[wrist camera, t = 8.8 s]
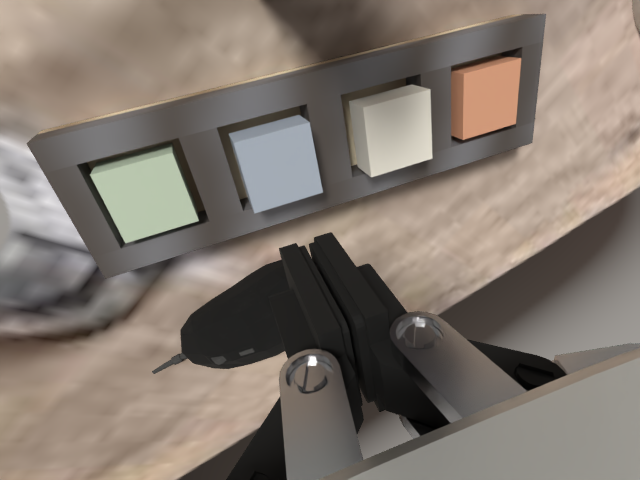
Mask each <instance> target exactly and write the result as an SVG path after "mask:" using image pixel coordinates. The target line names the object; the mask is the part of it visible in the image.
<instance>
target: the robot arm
mask: <svg viewBox="0 0 640 480" xmlns="http://www.w3.org/2000/svg"><path fill="white" fill-rule="evenodd" d="M632 10H633V16H634V20H635V24H636V27H637V29H638V31H639V33H640V0H632ZM309 248H310V252H311V257H312V258H311V257H310V255H309V253H308V251H307V249H306V247H305V246H301V247H298V245H297V243H295V244H292V245H288V246H285V247H282V248H279V251H280V255H281V258H282V262H283V266H284V270H285V273H286V277H287V281H288V284H289V288H290V290H287V291H284V292H281V293H277V294H274V295H271V296H268V297H269V300H270V304H271V307H272V310H273V313H274V316H275V320H276V323H277V326H278V329H279V332H280V336H281V339H282V342H283V345H284V348H285V351H286V354H287V358H288V360H287V361H286V362H285V364H284V365H283V367H282V369H281V371H280V376H279V386H280V397H279V399H278V401H277V402H276V404H275V405H274V407H273V408H272V410H271V411H270V413H269V414H268V416H267V418H266V419H265V421H264V422H263V424H262V425H261V427H260V428H259V430H258V431H257V433H256V435H255V436H254V438H253V439H252V441H251V442H250V444H249V446H248V447H247V449H246V450H245V452H244V453H243V455H242V456H241V458H240V460H239V461H238V463H237V464H236V465H235V467H234V469H233V470H232V472H231V473H230V475H229V476H228V478H227V479H226V480H640V343H639V344H638V343H637V344H636V343H635V344H623V345H617V346H611V347H605V348H599V349H592V350H586V351H580V352H574V353H568V354H561V355H556V356H555V358H554V360H553V361H550V360H548V359H546V358H543V357H540V356H537V355H533V354H529V353H524V352H520V351H515V350H511V349H506V348H502V347H497V346H493V345H489V344H484V343H480V342H476V341H471V340H467V339H465V338H464V337H463V336H462V335H460V334H459V333H458V332H457V331H456V330H455V329H453V328H452V327H451V326H450V325H449V324H447V323H446V322H445V321H444V320H443V319H441V318H439V317H438V316H437V315H434V314H431V313H428V312H420V311H417V312H409V313H407V311H406V310H405V309H404V307H403V306H402V305H401V304H400V302H399V301H398V300H397V298H396V297H395V296H394V295H393V293H392V292H391V291H390V289H389V288H388V287H387V286H386V284H385V283H384V282H383V280H382V279H381V278H380V276H379V275H378V274H377V273H376V271H375V270H374V269H373V267H372V266H371V265H370V264H365V265H362V266H359V267H356V266H355V265H354V263H353V262H352V260H351V259H350V257H349V256H348V255H347V253H346V252H345V250H344V249H343V248H342V246H341V245H340V243H339V242H338V241H337V239H336V238H335V236H334V235H333V234H332V233H331V232H330V233H327V234H324V235H320V236H317V237H314V243H310V244H309ZM360 389H361V391H362V393H363V395H364V397H365V399H366V401H367V402H368V403H369V402H372V401H374V402H375V404H376V406H377V408H378V410H379V412H381V411H383V410H386V411H389V412H392V413H395V414H398V415H399V419H400V421H401V422H402V424H403V426H404V427H405V429H406V430H407V431H408V432H409V434H410V435H411V436H412V438H413V440H410V441H408V442H406V443H403V444H401V445H398V446H396V447H393V448H391V449H389V450H386V451H384V452H382V453H379V454H377V455H375V456H372V457H370V458H367V459H365V460H363V457H362V453H361V449H360V445H359V441H358V437H357V434H358V431H359V429H360V427H361V425H362V422H363V420H364V419H363V413H362V408H361V406H362V398H361V393H360Z"/></svg>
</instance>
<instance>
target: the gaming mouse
mask: <svg viewBox="0 0 640 480" xmlns="http://www.w3.org/2000/svg"><path fill="white" fill-rule="evenodd" d="M287 290H290V288H289V284H288V281H287V277H286V273H285V270H284V266H283V262H282V260H280V261H276V262H273V263H270V264H267V265H265V266H263V267H261V268H260V269H258V270H256V271H255V272H253V273H251V274H250V275H248V276H247V277H245V278H244V279H242V280H241V281H240V282H238V283H237V284H235V285H234V286H232V287H231V288H229V289H228V290H226V291H225V292H223V293H221V294H220V295H218V296H217V297H215V298H214V299H212V300H211V301H209V302H208V303H206V304H205V305H204V306H202V307H201V308H199V309H198V310H197V311H195V312H194V313H192V314H191V315H190V317H189V318H188V320H187V321H186V323H185V324H184V326H183V327H182V329H181V347H182V353H181V354H178V355H176V356H174V357H172V358H171V360H170V361H168V362H166V363H164V364H163V365H161V366H160V367H158V368H157V369H155V370H154V371H152V372H153V373H154V374H155V373H157V372H159V371H161V370H163V369H165V368H167V367H168V366H170V365H172V364H175V365H176V364H178V363H180V362H182V361H183V360H184V359H187V358H188V359H189V360H190V361H191V362H192V363H194V364H198V365H202V366H207V367H211V368H220V369H230V368H234V367H239V366H244V365H248V364H252V363H255V362H258V361H261V360H264V359H267V358H270V357H273V356H276V355H278V354H280V353H282V352H284V351H285V348H284V345H283V342H282V339H281V336H280V332H279V329H278V326H277V323H276V320H275V316H274V313H273V310H272V307H271V304H270V300H269V297H268V296H271V295H274V294H277V293H281V292H284V291H287Z"/></svg>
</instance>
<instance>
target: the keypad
mask: <svg viewBox="0 0 640 480" xmlns="http://www.w3.org/2000/svg"><path fill="white" fill-rule="evenodd" d="M545 19H546V14H520V15H511V16H507V17H503V18H499V19H495V20H491V21H487V22H482V23H478V24H474V25H470V26H466V27H462V28H458V29H454V30H450V31H446V32H442V33H438V34H434V35H429V36H425V37H421V38H417V39H413V40H409V41H405V42H401V43H397V44H393V45H389V46H385V47H381V48H376V49H372V50H368V51H364V52H360V53H356V54H352V55H348V56H344V57H340V58H336V59H332V60H328V61H323V62H319V63H315V64H311V65H307V66H303V67H299V68H295V69H291V70H287V71H283V72H279V73H275V74H270V75H266V76H262V77H258V78H254V79H250V80H246V81H242V82H238V83H234V84H230V85H226V86H222V87H217V88H213V89H209V90H205V91H201V92H197V93H193V94H189V95H185V96H181V97H177V98H173V99H169V100H164V101H160V102H156V103H152V104H148V105H144V106H140V107H136V108H132V109H128V110H124V111H120V112H116V113H111V114H107V115H103V116H99V117H95V118H91V119H87V120H83V121H79V122H75V123H71V124H67V125H63V126H58V127H54V128H50V129H46V130H42V131H41V132H39V133H38V134H37V135H36V136H35V137H34V138H32V139H31V140H30V141H29V142H28V143H27V145H28V147H29V148H30V150H31V152H32V154H33V155H34V157H35V159H36V160H37V162H38V164H39V166H40V167H41V169H42V171H43V172H44V174H45V176H46V178H47V179H48V181H49V183H50V184H51V186H52V188H53V190H54V191H55V193H56V195H57V197H58V198H59V200H60V202H61V203H62V205H63V207H64V209H65V210H66V212H67V214H68V215H69V217H70V219H71V221H72V222H73V224H74V226H75V227H76V229H77V231H78V233H79V234H80V236H81V238H82V239H83V241H84V243H85V245H86V246H87V248H88V250H89V251H90V253H91V255H92V257H93V258H94V260H95V262H96V263H97V265H98V267H99V269H100V270H101V272H102V274H103V276H104V277H105V279H107V278H110V277H113V276H116V275H119V274H122V273H126V272H129V271H132V270H135V269H138V268H141V267H144V266H148V265H151V264H154V263H157V262H160V261H163V260H166V259H169V258H173V257H176V256H179V255H182V254H185V253H188V252H191V251H195V250H198V249H201V248H204V247H207V246H210V245H213V244H217V243H220V242H223V241H226V240H229V239H232V238H235V237H239V236H242V235H245V234H248V233H251V232H254V231H257V230H261V229H264V228H267V227H270V226H273V225H276V224H279V223H283V222H286V221H289V220H292V219H295V218H298V217H301V216H305V215H308V214H311V213H314V212H317V211H320V210H323V209H326V208H330V207H333V206H336V205H339V204H342V203H345V202H348V201H352V200H355V199H358V198H361V197H364V196H367V195H370V194H374V193H377V192H380V191H383V190H386V189H389V188H392V187H396V186H399V185H402V184H405V183H408V182H411V181H414V180H418V179H421V178H424V177H427V176H430V175H433V174H436V173H440V172H443V171H446V170H449V169H452V168H455V167H458V166H462V165H465V164H468V163H471V162H474V161H477V160H480V159H483V158H487V157H490V156H493V155H496V154H499V153H502V152H505V151H509V150H512V149H515V148H518V147H521V146H524V145H527V144H531V143H532V140H533V131H534V121H535V112H536V103H537V93H538V84H539V75H540V65H541V56H542V47H543V38H544V28H545ZM496 56H505V57H514V58H521V68H520V80H519V92H518V104H517V116H516V124H514V125H510V126H507V127H504V128H500V129H497V130H494V131H491V132H487V133H484V134H481V135H477V136H474V137H471V138H468V139H464V140H462V139H459V138H457V137H454V136H452V135H451V68H455V67H458V66H462V65H466V64H470V63H474V62H477V61H481V60H485V59H489V58H492V57H496ZM408 85H416V86H420V87H424V88H427V89H430V93H431V127H432V159H429V160H426V161H423V162H420V163H416V164H413V165H410V166H407V167H404V168H400V169H397V170H394V171H391V172H387V173H384V174H381V175H378V176H374V177H370V176H369V175H368V174H366V173H365V172H364V171H362V170H361V169H360V168H358V165H357V158H356V150H355V143H354V136H353V128H352V121H351V113H350V106H349V101H352V100H356V99H359V98H363V97H367V96H371V95H374V94H378V93H382V92H385V91H389V90H393V89H397V88H400V87H404V86H408ZM296 115H300V116H302V117H303V118H304V119H306V120H307V121H309V122H310V127H311V132H312V137H313V143H314V148H315V153H316V158H317V164H318V169H319V174H320V179H321V185H322V190H323V193H320V194H316V195H313V196H310V197H307V198H304V199H300V200H297V201H294V202H291V203H287V204H284V205H281V206H278V207H274V208H271V209H268V210H265V211H262V212H258V213H254V211H253V209H252V207H251V204H250V202H249V200H248V197H247V193H246V190H245V187H244V183H243V180H242V177H241V173H240V170H239V167H238V163H237V160H236V157H235V154H234V150H233V147H232V144H231V140H230V137H229V133H233V132H236V131H240V130H244V129H248V128H251V127H255V126H259V125H262V124H266V123H270V122H274V121H277V120H281V119H285V118H289V117H292V116H296ZM169 143H172V144H173V146H174V149H175V152H176V154H177V157H178V159H179V162H180V165H181V167H182V170H183V172H184V175H185V178H186V180H187V183H188V185H189V188H190V191H191V193H192V196H193V199H194V201H195V204H196V206H197V212H198V219H199V221H197V222H194V223H190V224H187V225H184V226H181V227H177V228H174V229H171V230H167V231H164V232H161V233H158V234H154V235H151V236H148V237H145V238H141V239H138V240H135V241H131V242H128V243H125V242H124V240H123V238H122V236H121V234H120V232H119V230H118V228H117V226H116V224H115V222H114V220H113V218H112V216H111V215H110V213H109V211H108V209H107V207H106V205H105V203H104V201H103V199H102V197H101V195H100V193H99V191H98V189H97V188H96V186H95V184H94V182H93V180H92V178H91V176H90V174H91V172H92V170H93V168H94V166H95V164H96V163H98V162H102V161H105V160H109V159H113V158H117V157H120V156H124V155H128V154H132V153H135V152H139V151H143V150H147V149H150V148H154V147H158V146H162V145H166V144H169Z"/></svg>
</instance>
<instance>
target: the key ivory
mask: <svg viewBox="0 0 640 480" xmlns="http://www.w3.org/2000/svg"><path fill="white" fill-rule="evenodd" d="M349 106H350V113H351V121H352V128H353V136H354V143H355V150H356V158H357V165H358V168H360V169H361V170H362V171H364V172H365V173H366V174H368V175H369V176H370V177H374V176H378V175H381V174H384V173H387V172H391V171H394V170H397V169H400V168H404V167H407V166H410V165H413V164H416V163H420V162H423V161H426V160H429V159H432V127H431V93H430V89H427V88H424V87H420V86H416V85H408V86H404V87H400V88H397V89H393V90H389V91H385V92H382V93H378V94H374V95H371V96H367V97H363V98H359V99H356V100H352V101H349Z"/></svg>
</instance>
